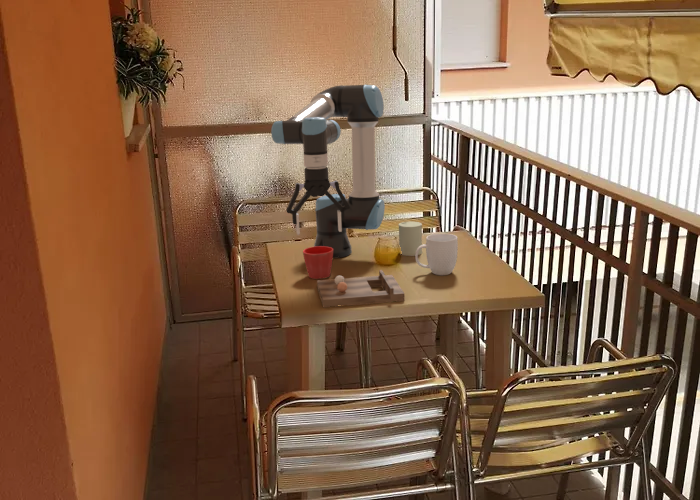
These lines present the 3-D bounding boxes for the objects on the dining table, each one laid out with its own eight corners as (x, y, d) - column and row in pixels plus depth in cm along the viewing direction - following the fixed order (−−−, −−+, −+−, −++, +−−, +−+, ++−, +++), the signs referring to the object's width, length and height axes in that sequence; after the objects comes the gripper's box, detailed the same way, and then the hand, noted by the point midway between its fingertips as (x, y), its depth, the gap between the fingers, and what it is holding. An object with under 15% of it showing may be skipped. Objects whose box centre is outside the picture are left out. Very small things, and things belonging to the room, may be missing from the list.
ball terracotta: (336, 290, 235) (336, 281, 234) (346, 289, 235) (346, 280, 234) (338, 293, 232) (337, 284, 231) (348, 292, 232) (347, 283, 231)
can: (406, 248, 290) (406, 219, 287) (426, 251, 285) (426, 221, 281) (394, 253, 283) (393, 224, 279) (414, 257, 277) (414, 226, 274)
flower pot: (299, 274, 262) (298, 248, 259) (328, 269, 266) (326, 244, 263) (310, 282, 252) (308, 255, 250) (339, 277, 256) (338, 251, 254)
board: (317, 287, 246) (316, 274, 245) (392, 281, 249) (392, 269, 248) (323, 307, 227) (322, 293, 226) (404, 300, 230) (404, 287, 229)
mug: (417, 278, 252) (417, 242, 248) (413, 269, 262) (413, 234, 259) (460, 276, 252) (460, 240, 249) (454, 267, 263) (454, 232, 259)
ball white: (334, 283, 242) (334, 274, 241) (343, 283, 242) (343, 273, 241) (335, 286, 238) (335, 277, 238) (345, 286, 239) (344, 276, 238)
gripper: (277, 171, 223) (281, 237, 229) (357, 166, 227) (359, 232, 232) (275, 167, 230) (279, 232, 236) (353, 163, 234) (355, 226, 240)
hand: (319, 232), depth 234 cm, fingers open, 13 cm apart
